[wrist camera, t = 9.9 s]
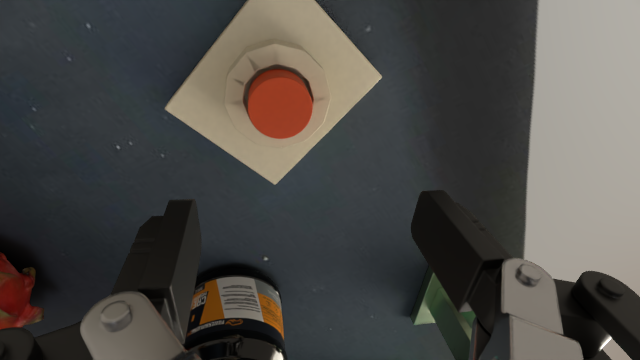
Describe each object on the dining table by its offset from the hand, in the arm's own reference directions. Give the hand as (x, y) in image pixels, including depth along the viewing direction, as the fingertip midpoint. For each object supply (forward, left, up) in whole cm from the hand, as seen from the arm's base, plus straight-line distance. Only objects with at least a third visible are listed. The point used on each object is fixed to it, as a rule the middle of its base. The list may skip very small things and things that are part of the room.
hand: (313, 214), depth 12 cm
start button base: (0, 0, -16) cm, 16 cm away
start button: (0, 0, -12) cm, 12 cm away
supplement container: (+21, +12, -16) cm, 29 cm away
